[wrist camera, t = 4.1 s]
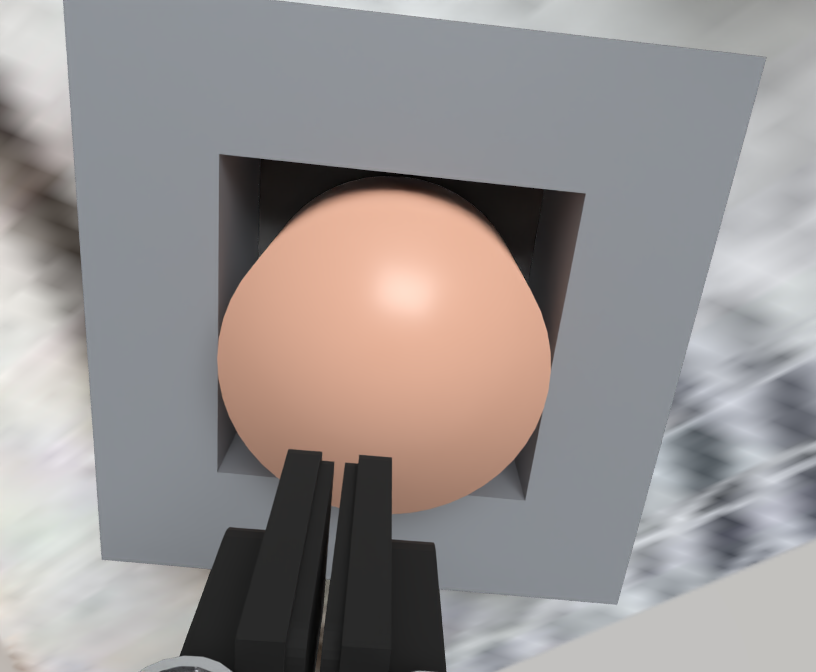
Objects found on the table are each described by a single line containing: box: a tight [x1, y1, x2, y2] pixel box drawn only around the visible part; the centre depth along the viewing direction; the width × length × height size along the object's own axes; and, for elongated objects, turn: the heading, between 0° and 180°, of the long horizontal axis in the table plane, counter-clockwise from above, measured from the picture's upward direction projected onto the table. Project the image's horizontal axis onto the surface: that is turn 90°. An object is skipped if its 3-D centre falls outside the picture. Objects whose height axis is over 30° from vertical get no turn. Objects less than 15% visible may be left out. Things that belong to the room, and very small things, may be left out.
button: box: [217, 176, 551, 514], centre depth 19 cm, size 8×8×5 cm
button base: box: [63, 0, 766, 605], centre depth 21 cm, size 16×16×5 cm
